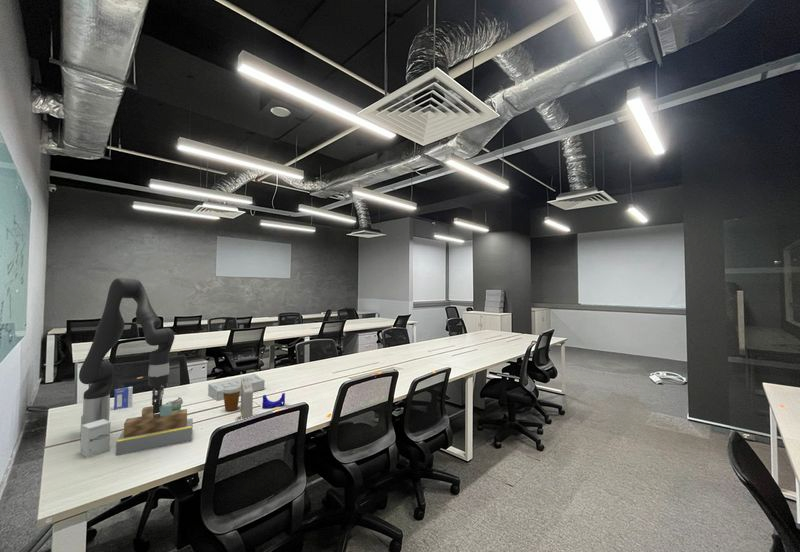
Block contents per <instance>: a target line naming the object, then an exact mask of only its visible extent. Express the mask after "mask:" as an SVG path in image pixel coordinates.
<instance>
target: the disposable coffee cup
mask: <svg viewBox="0 0 800 552" xmlns="http://www.w3.org/2000/svg"><path fill="white" fill-rule="evenodd" d="M240 390H241V388H240V386H239V385H232V386H227V387H224V388H223V391H222V392H223V395H224V399H223V401H224V409H225V411H234V410H237V409H238V408H239V406H238V405H239V401H240V395H239V394H240Z"/></svg>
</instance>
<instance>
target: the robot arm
mask: <svg viewBox="0 0 800 552" xmlns="http://www.w3.org/2000/svg"><path fill="white" fill-rule="evenodd" d="M122 299H132V300H134V302H136V305H137V306H136V309H135V318H136V320H137V322H138V323H139V324H140V326H141V328H142V331H143V334H144V340H145V342H146V344H148V345H149V346H152V347H155V346H158V348H156V349H154V350H152V351H151V352H150V353H149V365H148V372H147V373H148V374H147V376H148V377H147V386H149V387H154V388H152V390H151V395H152V396H151V399H152V401H151V406H153V414H159V409H160V407H161V405H163V397H164V393H165V385H168V383H169V382H170V352H171V350H172V347H173V344H174V341H175V332H174V330H173V329H171V328H168V327H166V328H160V327H161V325H162V321H161V318H159V316H158V315H157V313H156V312H155V310H154V308H153V307H152V304H151V303H150V299H149V297H148V295H147V292H146V290H145V287H144V285H143V284H142V282H141V281H140V280H138V279H133V278H122V277H121V278H120V277H119V278H118V277H117V278H115V279H113V280H112V282H111V283H110V286H109V289H108V293H107V297H106V302H105V305H104V310H103V313H102V315H101V319H100V320H99V323H98V326H97V328H96V331H95V335H94V337H93V340H92V343H91V346H90V349H89V350H88V353H87V355H86V357H85V360H84V361H83V363H82V364H81V367H80V369H79V372H78V379H79V381H80V383H81V384H83V385H91V386H89V388H88V389H86V390H85V391H84V392H83V395H82V396H83V397H82V399H83V403H82V406H83V407H82V414H81V417H80V426H81V425H83V424H87V423H91V422H94V421H98V420H102V419H105V420H107V421H109V422H110V415H111V414H110V411H111V410H110V407H111V402H110V401H111V390H112V388H113V383H114V374H115V373H114V372H115V370H114V369H115V368H114V366H113V364H112V362H111V361H109V360H104V358H105V356H106V355H107V354H108V353H109V351H111V349H112V348H114V347H115V345H116V344H117V343H118V342H119V341H120V339H121V337H122V335H123V331H124V329H125V326H126V325H125V320H124V318H123V316H122V313H121V310H120V308H121V307H120V306H121V302H122Z"/></svg>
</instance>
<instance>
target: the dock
mask: <svg viewBox="0 0 800 552" xmlns="http://www.w3.org/2000/svg"><path fill="white" fill-rule="evenodd" d="M193 422H194V421H193V418H187V424H186V426H184V427H179V428H173V429H168V430H163V431H157V432H152V433H146V434H141V435H136V436H130V437H125V438H124V430H122V432H121V433H120V435H119V437H118V438H117V440H116V441H115V456H120V455H126V454H132V453H136V452H143V451H146V450H153V449H157V448H158V449H159V448H163V447H169V446H173V445H177V444H184V443H190V442H192V437H193V427H194V426H193V424H194V423H193Z"/></svg>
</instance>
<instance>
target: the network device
mask: <svg viewBox="0 0 800 552" xmlns="http://www.w3.org/2000/svg"><path fill="white" fill-rule="evenodd" d="M253 394H254V392H253V389H252V386H251V383H250V380H249V378H241V395H240V415H238V416H236V417H235V419H234V420H235V421H234V422H236V421H237V420H238V421H239V419H241V420H242V419H245V418H248V417H251V416H253V415H254V413H253V409H254V408H253V407H254V406H253V404H254V401H253V400H254V398H253V397H254V395H253ZM241 417H242V418H241Z"/></svg>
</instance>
